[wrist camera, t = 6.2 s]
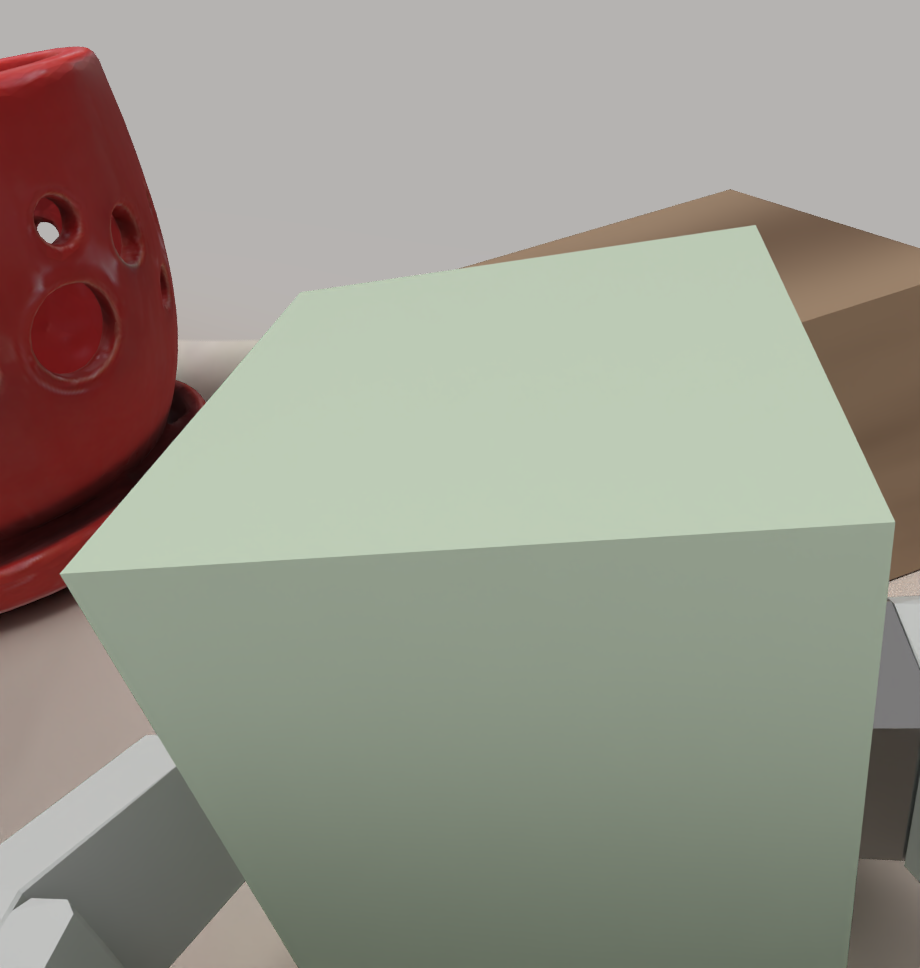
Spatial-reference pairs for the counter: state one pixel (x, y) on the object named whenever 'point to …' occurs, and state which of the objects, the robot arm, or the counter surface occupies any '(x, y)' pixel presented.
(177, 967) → the counter surface
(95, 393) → the plant pot
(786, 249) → the walnut base
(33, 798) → the counter surface
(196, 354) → the counter surface
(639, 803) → the sage brick
